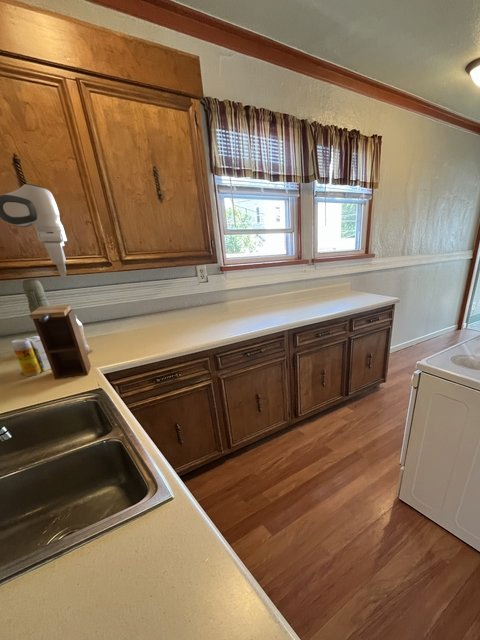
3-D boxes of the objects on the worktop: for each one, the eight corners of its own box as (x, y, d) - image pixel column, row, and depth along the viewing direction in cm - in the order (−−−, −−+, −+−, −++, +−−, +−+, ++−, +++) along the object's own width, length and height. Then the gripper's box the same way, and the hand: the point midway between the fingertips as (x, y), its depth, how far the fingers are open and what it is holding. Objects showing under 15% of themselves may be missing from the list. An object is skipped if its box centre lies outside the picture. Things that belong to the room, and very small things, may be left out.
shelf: (61, 321, 119) (59, 316, 118) (24, 324, 115) (22, 319, 114) (71, 309, 139) (70, 304, 138) (40, 311, 135) (38, 306, 134)
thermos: (65, 345, 180) (42, 278, 164) (64, 351, 171) (40, 280, 155) (46, 347, 176) (20, 279, 160) (43, 353, 167) (16, 281, 151)
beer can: (28, 377, 139) (14, 343, 132) (21, 374, 142) (7, 341, 135) (44, 373, 143) (31, 340, 136) (37, 370, 146) (25, 337, 139)
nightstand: (87, 375, 141) (68, 314, 130) (55, 379, 137) (32, 317, 125) (90, 366, 151) (73, 309, 139) (60, 370, 147) (39, 311, 135)
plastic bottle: (89, 351, 170) (77, 312, 161) (93, 354, 165) (81, 315, 156) (75, 354, 166) (62, 314, 157) (78, 357, 161) (65, 317, 152)
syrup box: (35, 370, 146) (22, 338, 140) (48, 365, 151) (36, 335, 145) (43, 372, 145) (31, 340, 138) (56, 367, 149) (45, 336, 143)
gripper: (44, 236, 129) (55, 273, 135) (39, 236, 113) (52, 278, 119) (63, 236, 132) (73, 272, 138) (60, 236, 116) (73, 277, 122)
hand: (64, 275), depth 128 cm, fingers open, 8 cm apart
